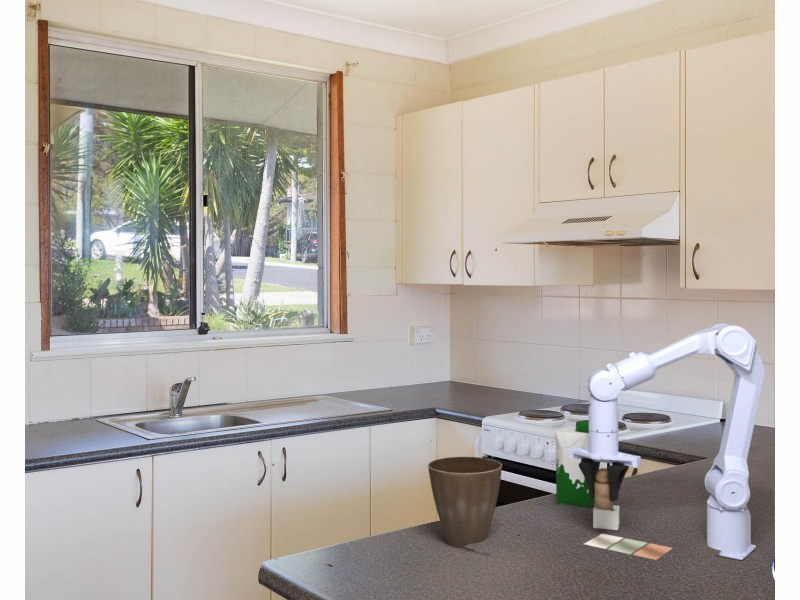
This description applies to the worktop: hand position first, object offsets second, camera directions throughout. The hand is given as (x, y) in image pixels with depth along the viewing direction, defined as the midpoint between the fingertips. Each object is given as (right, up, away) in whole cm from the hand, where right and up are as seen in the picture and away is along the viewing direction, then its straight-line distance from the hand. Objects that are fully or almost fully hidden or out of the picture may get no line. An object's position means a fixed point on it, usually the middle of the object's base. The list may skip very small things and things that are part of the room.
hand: (603, 498), depth 157 cm
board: (+4, -10, -3) cm, 11 cm away
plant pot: (-27, -10, +3) cm, 29 cm away
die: (+3, -10, +10) cm, 14 cm away
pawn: (0, -2, 0) cm, 2 cm away
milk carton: (+1, -9, +30) cm, 32 cm away
